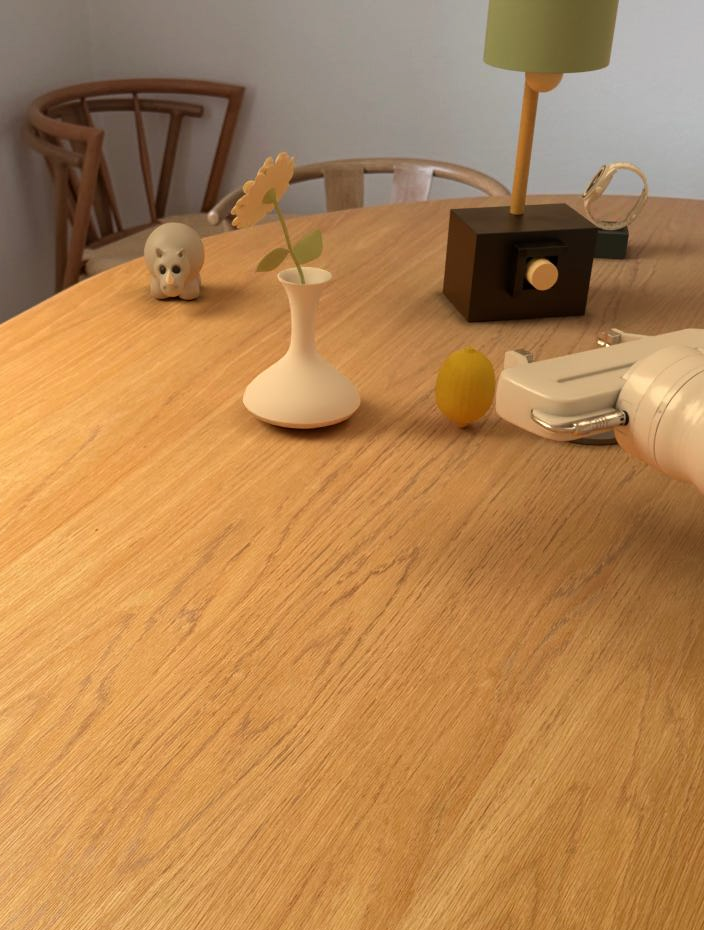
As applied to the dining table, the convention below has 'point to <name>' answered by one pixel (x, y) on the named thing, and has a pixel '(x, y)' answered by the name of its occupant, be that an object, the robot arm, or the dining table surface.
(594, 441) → the coaster
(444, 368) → the lemon
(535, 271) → the lamp switch
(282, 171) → the flower in vase
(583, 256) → the desk lamp
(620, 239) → the watch
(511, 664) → the dining table surface
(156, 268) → the round bodied animal figurine
